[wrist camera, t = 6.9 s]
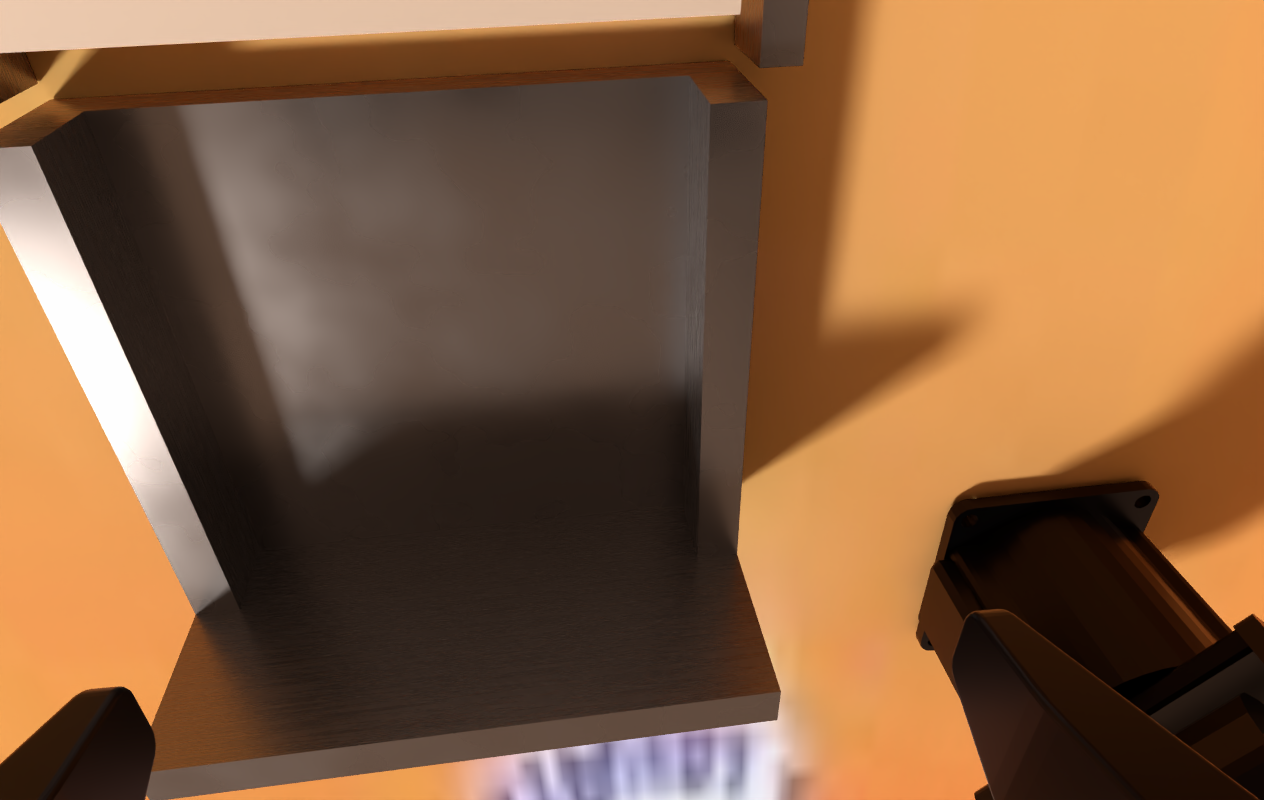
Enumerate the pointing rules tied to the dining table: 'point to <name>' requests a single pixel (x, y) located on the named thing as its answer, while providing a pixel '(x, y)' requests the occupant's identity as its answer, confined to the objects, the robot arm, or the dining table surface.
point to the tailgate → (299, 18)
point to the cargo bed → (422, 397)
